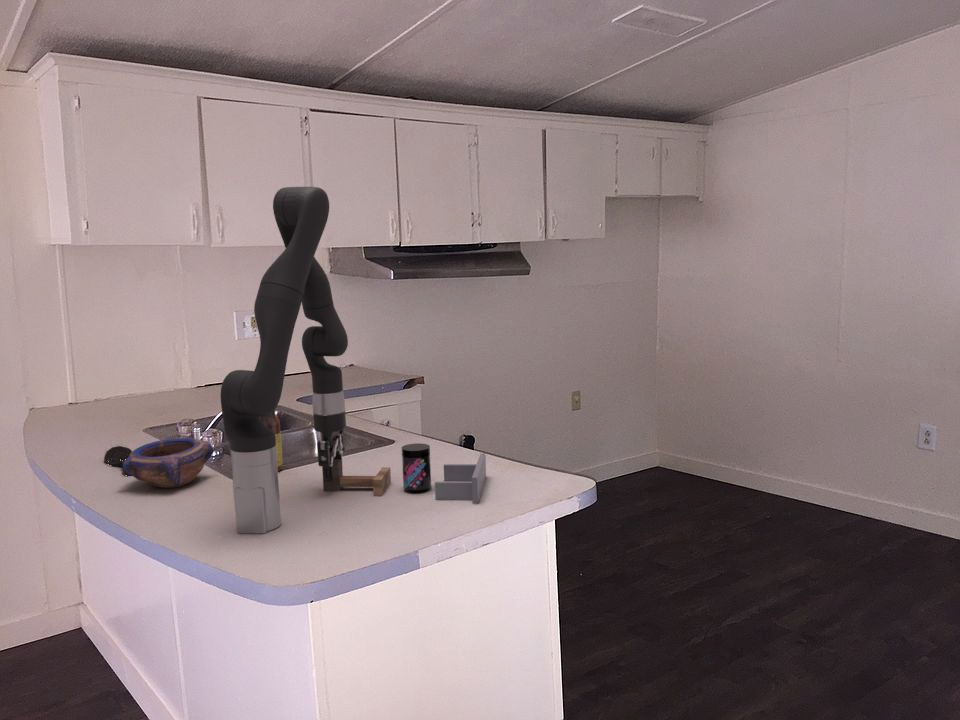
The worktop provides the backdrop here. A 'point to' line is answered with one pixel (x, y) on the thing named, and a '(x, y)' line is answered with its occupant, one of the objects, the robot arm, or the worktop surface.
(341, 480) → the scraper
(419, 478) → the supplement container
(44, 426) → the worktop surface
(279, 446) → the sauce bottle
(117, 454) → the hairbrush
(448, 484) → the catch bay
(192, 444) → the bowl
